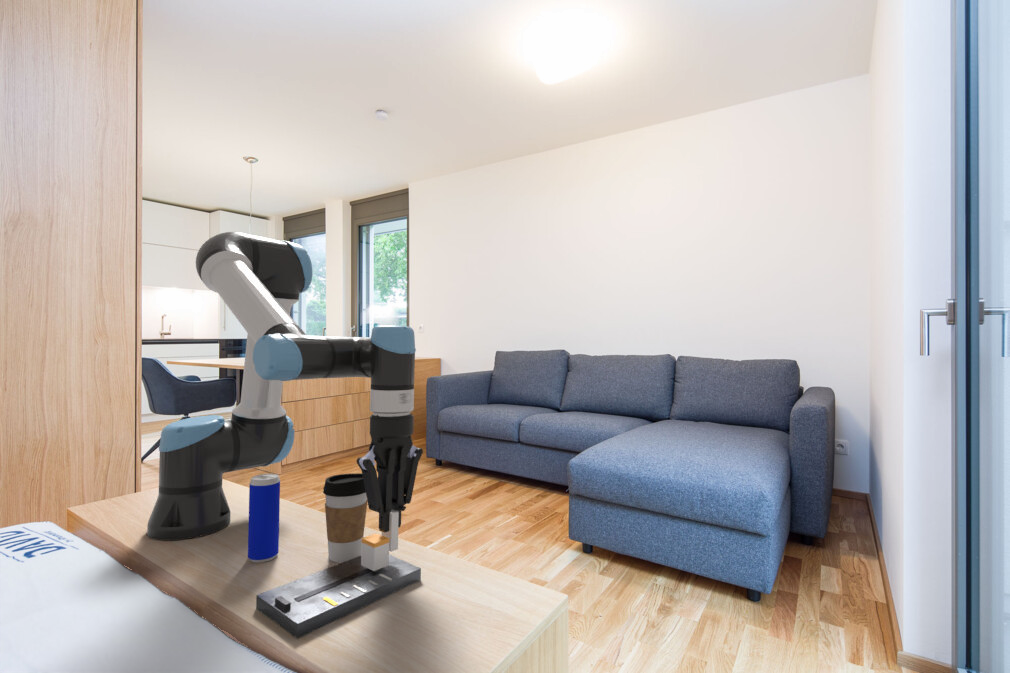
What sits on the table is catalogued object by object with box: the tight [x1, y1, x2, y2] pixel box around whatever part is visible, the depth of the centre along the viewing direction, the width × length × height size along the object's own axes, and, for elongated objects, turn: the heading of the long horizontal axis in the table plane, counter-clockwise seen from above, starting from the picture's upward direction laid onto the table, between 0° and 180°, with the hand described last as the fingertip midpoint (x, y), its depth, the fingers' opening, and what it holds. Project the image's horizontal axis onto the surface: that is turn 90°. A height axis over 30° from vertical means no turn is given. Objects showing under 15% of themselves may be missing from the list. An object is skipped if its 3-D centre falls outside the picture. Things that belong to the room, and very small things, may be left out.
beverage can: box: [247, 473, 281, 564], centre depth 92 cm, size 5×5×15 cm
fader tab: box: [361, 532, 390, 571], centre depth 83 cm, size 4×3×4 cm
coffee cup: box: [322, 472, 368, 564], centre depth 93 cm, size 8×8×15 cm
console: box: [255, 554, 422, 640], centre depth 79 cm, size 12×22×3 cm, turn 141°
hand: (389, 548), depth 86 cm, fingers closed
